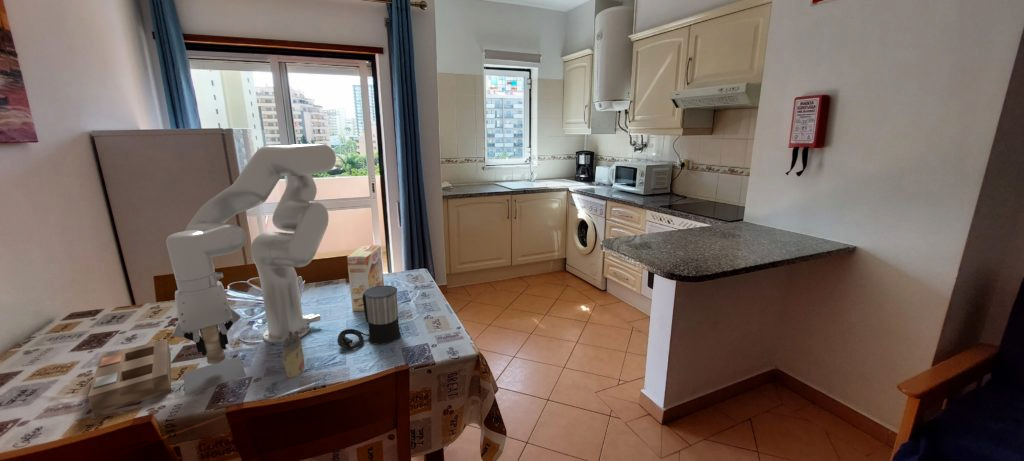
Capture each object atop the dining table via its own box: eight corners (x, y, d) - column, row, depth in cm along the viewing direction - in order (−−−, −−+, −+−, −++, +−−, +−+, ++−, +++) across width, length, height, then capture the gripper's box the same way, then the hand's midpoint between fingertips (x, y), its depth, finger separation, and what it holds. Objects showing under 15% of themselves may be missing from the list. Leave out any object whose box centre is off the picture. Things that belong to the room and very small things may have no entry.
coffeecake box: (372, 311, 139) (366, 256, 135) (351, 311, 139) (345, 256, 135) (385, 294, 154) (381, 244, 149) (367, 294, 154) (362, 244, 150)
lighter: (299, 377, 101) (294, 341, 99) (282, 380, 100) (277, 343, 98) (306, 362, 108) (301, 328, 106) (290, 364, 107) (285, 329, 105)
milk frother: (407, 333, 123) (404, 287, 120) (369, 359, 109) (364, 307, 106) (371, 325, 129) (367, 281, 126) (331, 348, 115) (325, 299, 112)
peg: (224, 354, 105) (214, 311, 102) (226, 360, 103) (215, 317, 99) (207, 359, 103) (196, 316, 100) (208, 365, 100) (197, 321, 97)
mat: (239, 357, 111) (239, 356, 111) (246, 377, 102) (246, 375, 102) (183, 374, 103) (183, 372, 103) (185, 396, 94) (185, 395, 94)
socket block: (170, 355, 112) (167, 337, 111) (171, 392, 96) (166, 372, 95) (105, 372, 104) (100, 354, 103) (93, 416, 88) (87, 395, 87)
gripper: (236, 269, 105) (250, 333, 110) (152, 287, 95) (171, 356, 100) (240, 277, 99) (255, 344, 104) (151, 297, 89) (172, 370, 94)
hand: (214, 349), depth 102 cm, fingers closed on peg, 3 cm apart
